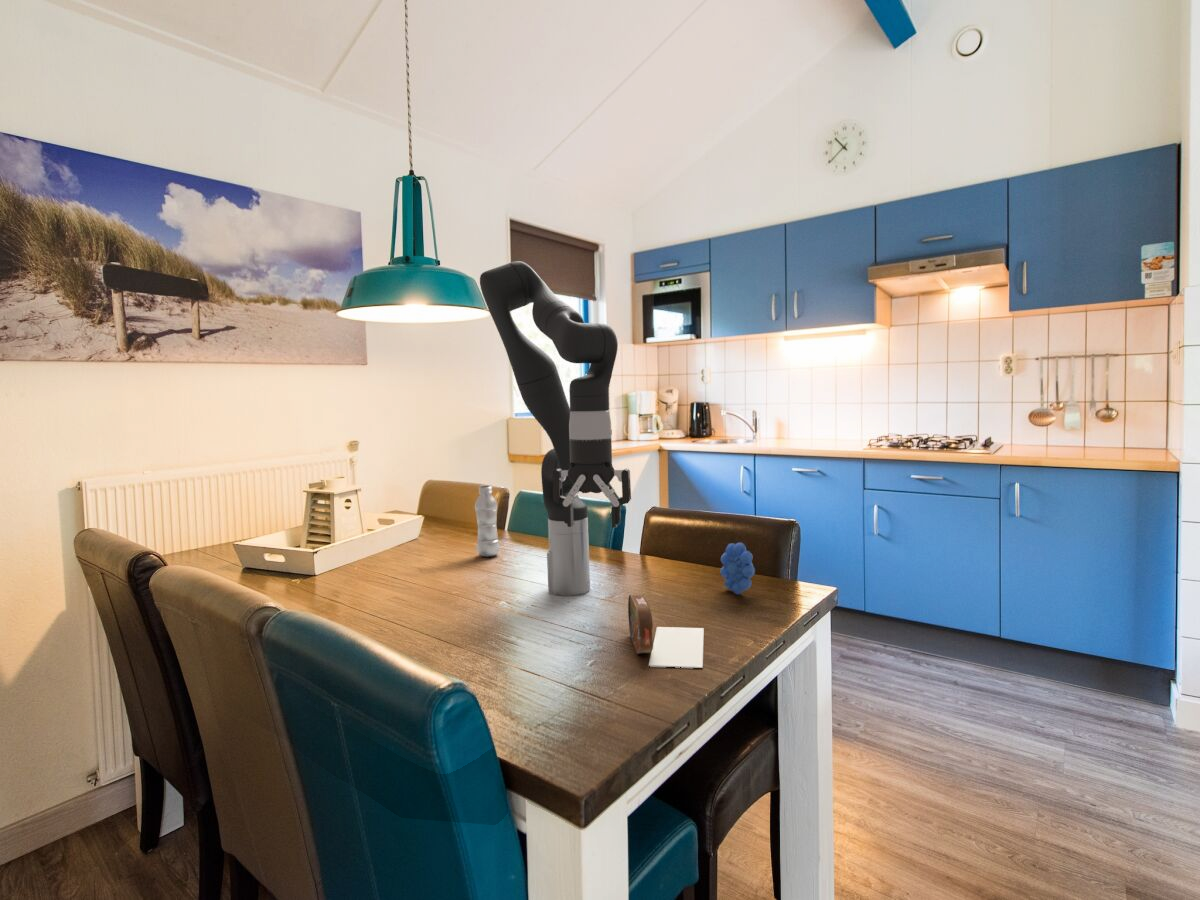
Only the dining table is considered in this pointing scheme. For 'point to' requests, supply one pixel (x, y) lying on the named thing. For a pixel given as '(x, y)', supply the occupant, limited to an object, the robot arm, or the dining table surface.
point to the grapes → (737, 568)
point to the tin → (640, 623)
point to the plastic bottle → (487, 522)
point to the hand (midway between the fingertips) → (592, 526)
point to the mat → (677, 647)
